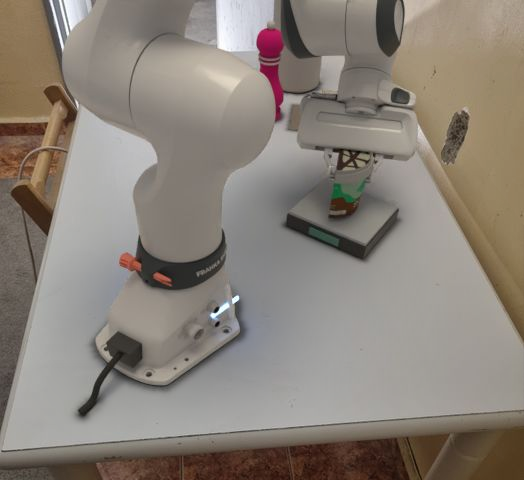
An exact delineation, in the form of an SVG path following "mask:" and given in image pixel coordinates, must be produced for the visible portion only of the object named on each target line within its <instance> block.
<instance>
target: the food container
mask: <svg viewBox="0 0 524 480" xmlns="http://www.w3.org/2000/svg"><path fill="white" fill-rule="evenodd" d="M339 152H340V153H338V156H337V162H336V167H337V170H336V174H335V179H333V181H334V186H333V192H332V198H331V204H330V211H329V217H328V218H343V217H346V216H349V215H351V214H353V213H354V212H355V211H356V210H357V208H358V205H359V201H360V198H361V195H362V192H364V187H365V184H366V183H365V181H366V178H367V177H368V176H369V175H370V174H371V173H372V171H373V167H374V163H373V162H374V157H373V154H372V151H370V152H361V151H353V150H345V149H340V151H339Z"/></svg>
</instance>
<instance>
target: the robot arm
mask: <svg viewBox="0 0 524 480" xmlns="http://www.w3.org/2000/svg"><path fill="white" fill-rule="evenodd" d="M196 2H197V0H95V3H94V5H93V6H92V8H91V10H90V11H89V12H88V13H87V15H86V16H85V17H83V18H82V19H81V20H80V21H78V22H77V23H76V24H75V25H74V26H73V27H72V29H71V30H70V32H69V33H68V35H67V37H66V39H65V42H64V44H63V49H62V55H61V70H62V76H63V77H62V78H63V80H64V84H65V86H66V88H67V90H68V92H69V93H70V95H71V96H72V97H73V99H74V100H75V101H77V102H78V103H79V104H80V105H81V106H83V108H85V109H86V110H87V111H89V112H90V114H93V115H94V116H95V117H97V118H98V119H99V120H101V121H102V122H103V123H105V124H107V125H108V126H111V127H114V128H116V129H119V130H121V131H123V132H126V133H128V134H130V135H133V136H136V137H138V138H139V139H142V140H144V141H146V142H147V143H149V144H150V145H151V146H152V148H153V150H154V153H155V155H156V161H157V162H155V163H154V164H152V165H150V166H149V167H147V168H146V169H145V170H144V171H143V172H142V173H141V174H140V175H139V177H138V179H137V180H136V182H135V184H134V186H133V191H132V200H133V205H134V211H135V216H136V222H137V228H138V233H139V234H138V239H137V243H136V250H135V256H133V255H132V254H131V253H128V252H124V253H122V254H121V255H120V257H119V260H118V264H119V266H120V267H122V268H124V269H127V270H128V272H129V271H130V274H129V275H128V277H127V279H126V280H125V281H124V284H123V286H122V288H121V289H120V291H119V292H118V294H117V296H116V297H115V299H114V301H113V302H112V304H111V306H110V307H109V310H108V313H107V314H108V315H107V323H106V324H105V326H104V327H103V328H102V329H101V330H100V332H99V333H98V334H97V335H96V336H95V340H94V341H95V345H96V349H97V351H98V353H99V355H100V356H101V358H102V359H104V361H105V362H107V364H106V365H105V366H104V367H103V369H102V370H101V372H100V373H99V375H98V376H97V378H96V380H95V381H94V384H93V387H92V391H91V394H90V396H89V398H88V400H87V401H86V402H85V403H84V404H83V405H81V407H79V408H78V409H77V412H78V413H80V415H82V416H84V414H85V413H86V412H88V411H89V410H90V409H91V408H92V407H93V406H94V405H95V404H96V402H97V400H98V398H99V394H100V390H101V387H102V385H103V383H104V381H106V378H107V377H108V375H109V374H110V373H111V371H112V370H113V369H115V370H117V371H118V372H120V373H122V374H124V375H125V376H127V377H129V378H131V379H133V380H135V381H137V382H140V383H143V384H146V385H152V386H167V385H169V384H171V383H172V382H174V381H175V380H177V379H178V378H179V377H181V376H182V375H184V374H185V373H187V372H188V371H189V370H191V369H192V368H194V367H195V366H196V365H198V364H199V363H200V362H202V361H204V360H205V359H206V358H208V357H209V356H210V355H212V354H213V353H215V352H216V351H218V350H219V349H221V348H222V347H223V346H225V345H226V344H227V343H229V342H231V340H233V339H234V338H236V337H238V335H239V334H240V332H241V327H240V322H239V320H238V319H237V317H236V304H235V303H236V302H238V301H239V300H240V296H239V295H236V296H233V294H232V288H231V283H230V280H229V276H228V272H227V269H226V264H225V263H226V260H227V242H226V234H225V230H224V228H223V194H224V189H225V185H226V182H227V181H228V178H229V177H230V175H232V174H233V173H234V172H236V171H237V170H240V169H242V168H244V167H246V166H248V165H249V164H251V163H253V162H254V161H255V160H256V159H257V158H258V157H259V156H260V155H261V154H262V152H264V150H265V149H266V146H268V143H269V142H270V139H271V137H272V134H273V131H274V128H275V123H276V121H275V116H276V106H275V98H274V93H273V90H272V87H271V84H270V82H269V80H268V78H267V77H266V76H265V75H264V74H263V73H261V72H260V70H258V69H256V68H255V67H254V66H253V65H251V64H250V63H247V62H246V61H245V60H243V59H242V58H240V57H238V56H237V55H235V54H234V53H232V52H230V51H228V50H225V49H222V48H219V47H216V46H212V45H209V44H206V43H203V42H201V41H198V40H194V39H191V38H188V37H186V28H187V23H188V20H189V18H190V17H189V16H190V14H191V12H192V9H193V7H194V6H195V4H196ZM405 9H406V8H405V2H404V0H281V20H280V28H281V37H282V41H283V43H284V45H285V46H286V47H287V49H288V50H289V51H290V52H291V53H292V54H293V55H294V56H296V57H297V58H298V59H305V58H313V57H320V56H322V57H344V63H343V66H342V69H341V71H340V74H339V80H338V85H337V86H338V87H337V91H338V92H336V93H335V94H333V93H331V92H330V93H328V92H325V93H322V92H319V91H311V92H310V93H307V94H305V95H304V96H303V97H302V98H301V99H300V104H299V106H300V110H299V111H300V115H301V117H302V118H301V121H300V125H299V129H298V130H297V134H296V144H297V145H298V146H299V148H300V149H302V150H308V151H309V150H311V151H319V152H323V160H324V162H325V165H326V168H327V173H326V178H328V179H331V180H335V174H336V170H337V165H336V166H335V165H333V163H332V161H331V159H333V158H332V156H333V153H335V154H339V153H340V152H339V151H340V149H345V150H353V151H361V152H370V151H372V154H373V171H372V173H371V174H370V175H369V176H368V177H367V178H366V181H365V184H373V182H374V177H375V173H376V172H377V171H378V169H379V168H380V167H381V165H383V161H384V160H390V161H391V160H392V161H400V162H408V161H409V160H411V159H412V158H413V157H414V156H415V153H416V151H417V144H418V134H419V121H418V115H417V114H416V112H415V109H416V104H417V99H418V98H417V94H415V93H414V92H412V91H410V90H407V89H406V88H403V87H401V86H399V85H397V84H395V83H393V64H394V62H395V60H396V58H397V54H398V49H399V47H400V46H401V45H402V43H401V42H402V39H403V32H404V25H405V18H406V17H405V15H406V10H405ZM335 100H336V102H335Z"/></svg>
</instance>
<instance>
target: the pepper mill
mask: <svg viewBox="0 0 524 480" xmlns="http://www.w3.org/2000/svg"><path fill="white" fill-rule="evenodd" d="M255 45H256V48H257V50H258V54H257V56H258V58H257V61H258V63H259V71H260V72H261V73H263V74H264V75H265V76H266V77H267V78H268V80H269V82H270V84H271V87H272V90H273V93H274V98H275V106H276V116H275V122H276V121H278V120H279V119H280V118H281V113H282V112H281V111H282V109H281V107H280V106H281V105H282V104H283V102H284V99H285V97H284V96H285V95H284V91H283V89H282V86H281V83H280V80H279V75H278V67H279V63H280V62H281V54H280V52H281V51H282V50H283V48H284V43H283V41H282V37H281V32H280V31H279V30H278V29H275V22H274V21H273V19H270V20H269V21H267V23H266V28H263V29H261V30H260V31H259V32H258V34H257V36H256V41H255Z"/></svg>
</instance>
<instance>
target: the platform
mask: <svg viewBox="0 0 524 480" xmlns="http://www.w3.org/2000/svg"><path fill="white" fill-rule="evenodd" d="M326 92H327V93H330V94H331V93H332V94H337V92H338V90H334V91H333V90H331V89H322V90H321V93H326ZM335 102H336V100H335ZM299 110H300V105H293V107H292V112H291V118H290V123H289V128H288V130H290V131H298V129H299V125H300V121H301V118H302V117H301V115H300V111H299Z"/></svg>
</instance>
